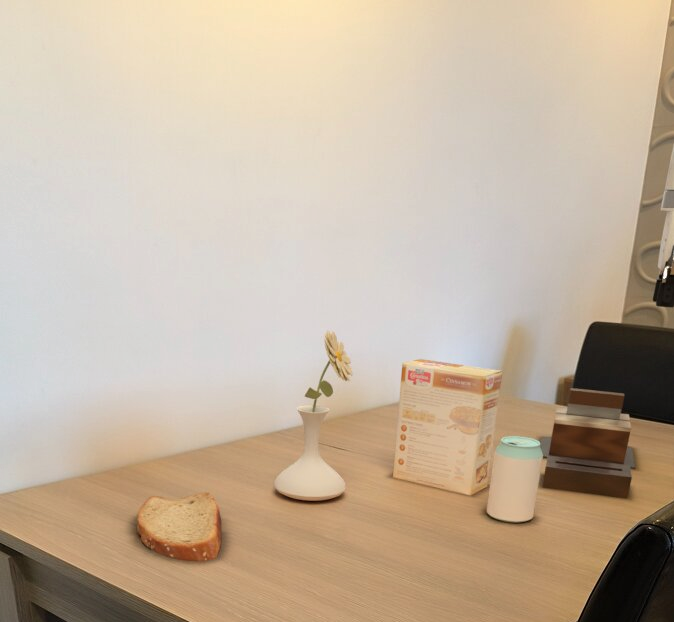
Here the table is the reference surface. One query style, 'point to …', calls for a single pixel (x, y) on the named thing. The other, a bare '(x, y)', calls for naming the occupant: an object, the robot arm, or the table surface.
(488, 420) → the coffeecake box
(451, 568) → the table surface
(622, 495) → the slotted wooden block
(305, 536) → the table surface
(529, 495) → the can
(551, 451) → the wooden box
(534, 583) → the table surface
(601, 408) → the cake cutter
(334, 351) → the flower in vase
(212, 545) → the bread slice
